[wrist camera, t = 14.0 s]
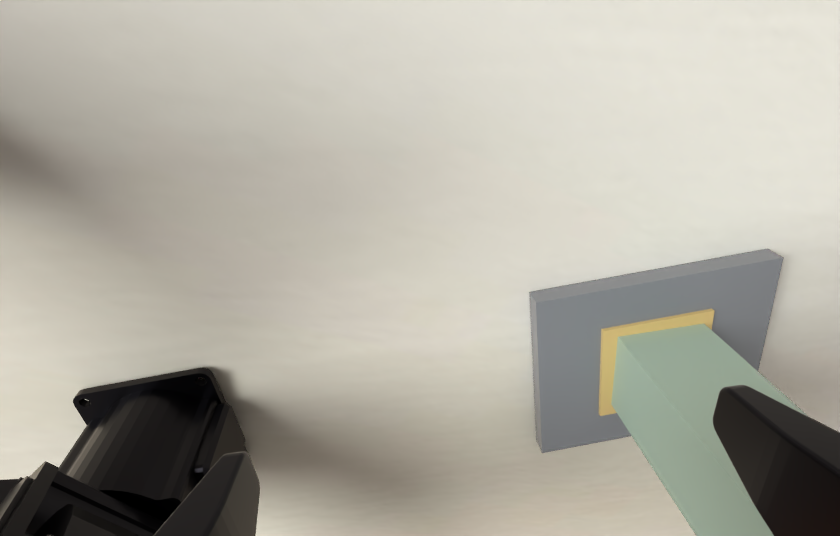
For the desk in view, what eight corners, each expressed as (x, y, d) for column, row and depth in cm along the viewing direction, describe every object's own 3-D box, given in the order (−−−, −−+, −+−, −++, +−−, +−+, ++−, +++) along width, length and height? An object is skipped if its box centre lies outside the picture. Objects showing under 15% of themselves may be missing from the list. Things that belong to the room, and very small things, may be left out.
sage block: (611, 404, 26) (782, 668, 16) (617, 336, 24) (819, 587, 14) (690, 391, 26) (913, 643, 16) (704, 323, 24) (969, 560, 14)
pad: (536, 439, 29) (543, 455, 27) (529, 292, 24) (537, 304, 23) (736, 401, 29) (751, 416, 28) (767, 248, 24) (786, 259, 23)
